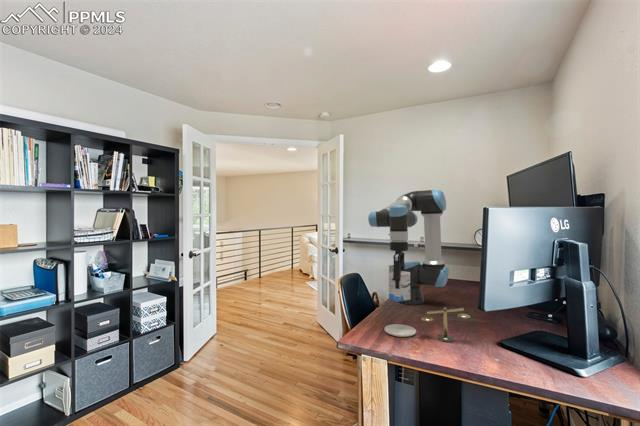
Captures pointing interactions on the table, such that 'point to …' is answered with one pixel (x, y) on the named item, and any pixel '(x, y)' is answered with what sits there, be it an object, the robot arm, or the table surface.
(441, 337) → the balance
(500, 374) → the table surface
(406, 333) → the dish
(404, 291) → the ink box
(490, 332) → the table surface
